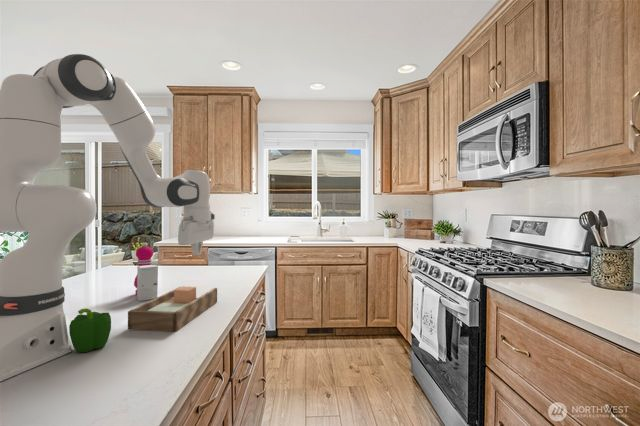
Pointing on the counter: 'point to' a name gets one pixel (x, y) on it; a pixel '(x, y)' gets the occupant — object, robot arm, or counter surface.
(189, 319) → the box
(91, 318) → the bell pepper
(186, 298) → the block
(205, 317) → the counter surface
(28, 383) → the counter surface
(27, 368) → the robot arm
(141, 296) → the skincare box
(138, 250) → the pepper mill
